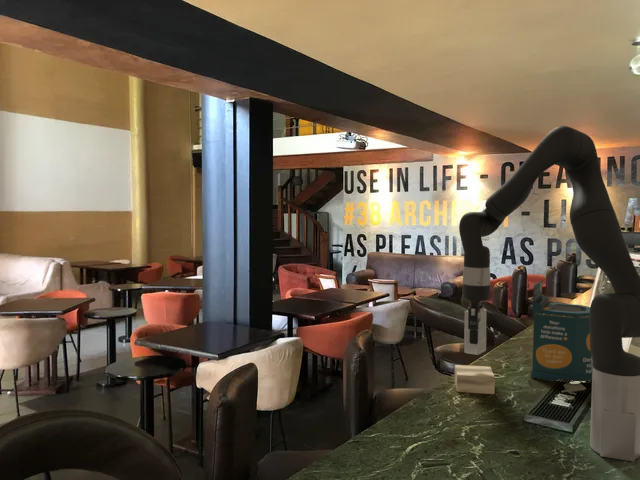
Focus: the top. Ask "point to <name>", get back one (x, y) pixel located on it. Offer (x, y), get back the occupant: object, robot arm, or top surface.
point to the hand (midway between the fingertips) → (475, 340)
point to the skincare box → (481, 344)
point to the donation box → (560, 340)
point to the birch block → (474, 379)
